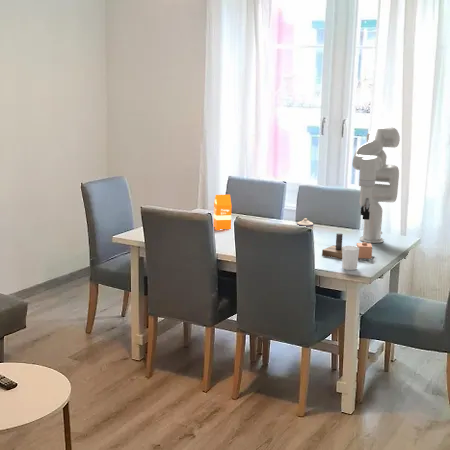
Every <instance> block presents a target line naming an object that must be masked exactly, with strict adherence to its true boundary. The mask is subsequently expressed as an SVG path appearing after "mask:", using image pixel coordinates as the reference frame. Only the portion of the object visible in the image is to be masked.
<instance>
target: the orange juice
mask: <svg viewBox="0 0 450 450" xmlns="http://www.w3.org/2000/svg"><path fill="white" fill-rule="evenodd" d="M232 208H233V207H232V199H231V194H215V197H214V202H213V228H214V227H215V228H214V229H215V231H221V230H220V229H231V230H232Z"/></svg>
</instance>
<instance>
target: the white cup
mask: <svg viewBox="0 0 450 450" xmlns="http://www.w3.org/2000/svg"><path fill="white" fill-rule="evenodd" d="M358 256H359V248H358V247H357V246H355V245H344V246H343V245H342V259H341V262H342V263H341V264H342V269H343V270H347V271H355V270H357V268H358V263H359V259H358Z"/></svg>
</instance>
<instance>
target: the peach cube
mask: <svg viewBox="0 0 450 450" xmlns="http://www.w3.org/2000/svg"><path fill="white" fill-rule="evenodd" d="M356 247H358V248H359V256H358V258H368V259H370V260H372V259H373V258H372V256H373V254H372V253H373V245H372V243H367V242H363V241H361V242H356ZM371 258H372V259H371Z"/></svg>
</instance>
